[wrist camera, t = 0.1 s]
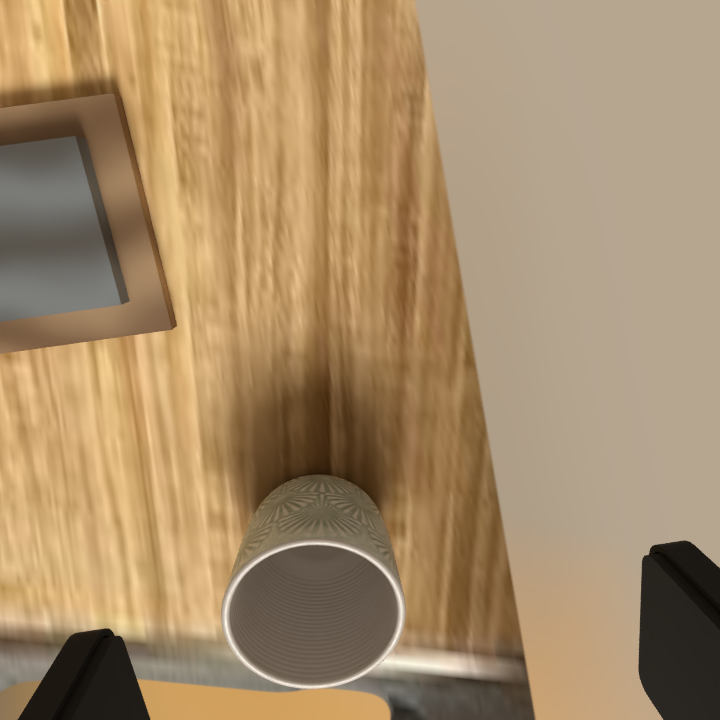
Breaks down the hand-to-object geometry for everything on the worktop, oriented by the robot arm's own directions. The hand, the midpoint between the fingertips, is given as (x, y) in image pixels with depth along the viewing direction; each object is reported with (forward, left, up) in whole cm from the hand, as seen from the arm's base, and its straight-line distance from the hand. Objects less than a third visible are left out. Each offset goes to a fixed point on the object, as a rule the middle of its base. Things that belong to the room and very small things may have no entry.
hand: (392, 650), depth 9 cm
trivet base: (-9, -21, -31) cm, 39 cm away
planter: (+18, -5, -31) cm, 37 cm away
